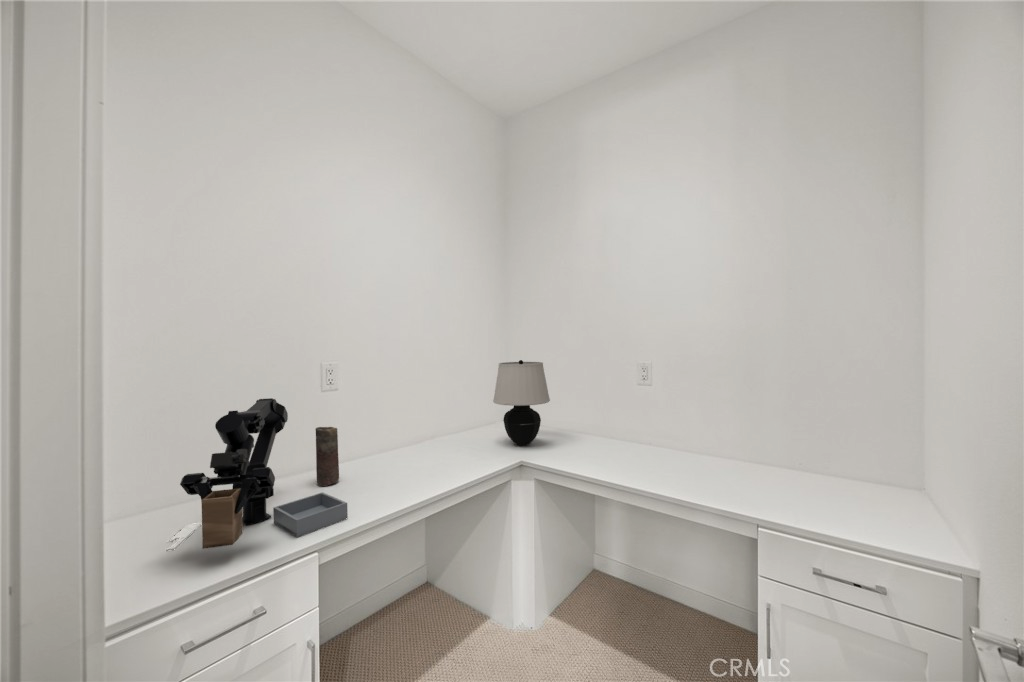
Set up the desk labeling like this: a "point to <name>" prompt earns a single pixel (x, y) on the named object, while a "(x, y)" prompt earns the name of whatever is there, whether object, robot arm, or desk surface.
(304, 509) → the tray
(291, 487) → the desk surface
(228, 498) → the walnut crate
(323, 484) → the candle
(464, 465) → the desk surface
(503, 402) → the table lamp
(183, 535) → the white angle bracket
